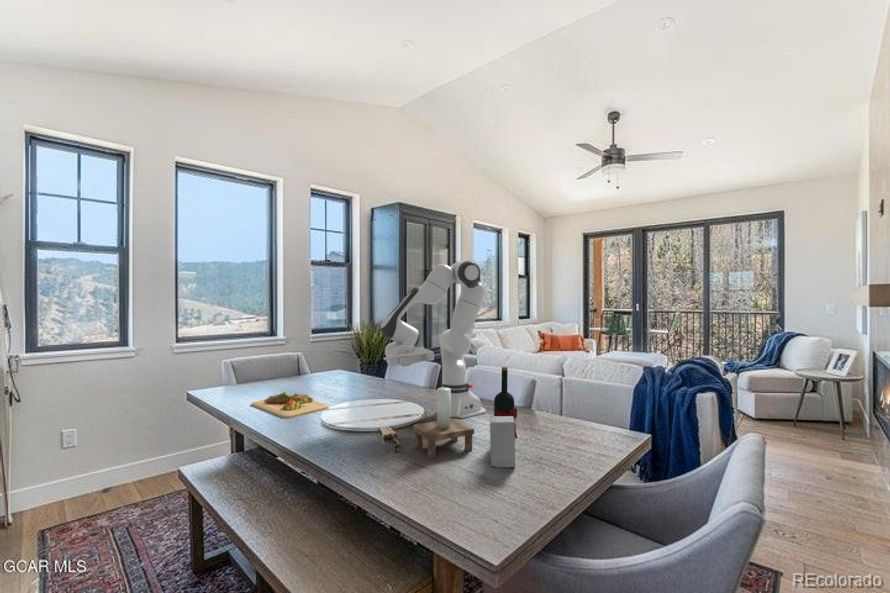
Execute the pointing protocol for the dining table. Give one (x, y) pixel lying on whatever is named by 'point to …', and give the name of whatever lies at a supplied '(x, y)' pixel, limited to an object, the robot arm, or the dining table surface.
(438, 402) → the pale green cylinder
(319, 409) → the cutting board
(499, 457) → the skincare box
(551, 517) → the dining table surface
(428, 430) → the walnut stool
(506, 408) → the wine bottle
